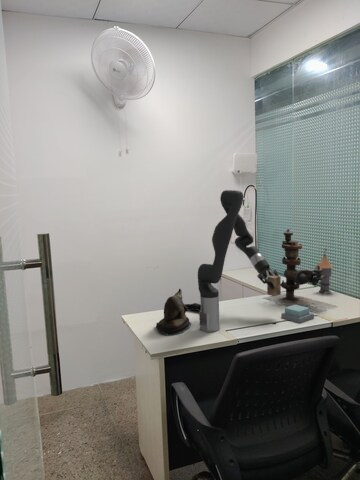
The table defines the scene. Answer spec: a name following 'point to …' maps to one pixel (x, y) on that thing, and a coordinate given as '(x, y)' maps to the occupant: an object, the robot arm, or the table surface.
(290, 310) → the tower top slab
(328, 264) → the model tower
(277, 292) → the walnut pillar
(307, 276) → the valve
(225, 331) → the table surface
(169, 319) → the sculpture
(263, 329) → the table surface
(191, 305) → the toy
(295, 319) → the tower base slab
